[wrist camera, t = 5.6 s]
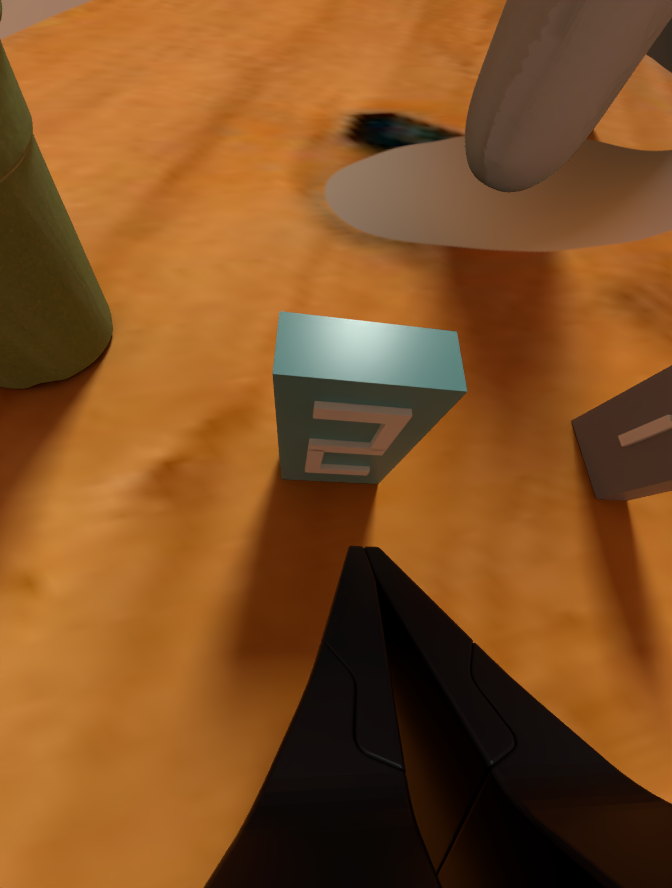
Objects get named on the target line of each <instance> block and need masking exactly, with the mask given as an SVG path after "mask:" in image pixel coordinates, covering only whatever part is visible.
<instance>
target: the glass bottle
mask: <svg viewBox="0 0 672 888" xmlns="http://www.w3.org/2000/svg"><path fill="white" fill-rule="evenodd" d="M671 17H672V0H507V1H506V4H505V6H504V9H503V12H502V15H501V17H500V20H499V22H498V25H497V28H496V31H495V33H494V36H493V38H492V41H491V44H490V46H489V49H488V52H487V54H486V57H485V60H484V63H483V65H482V68H481V71H480V74H479V77H478V80H477V82H476V85H475V88H474V92H473V95H472V98H471V102H470V106H469V110H468V115H467V121H466V129H465V148H466V156H467V161H468V164H469V167H470V169H471V171H472V173H473V174H474V176H475V177H476V178H477V179H478V180H479V181H481V182H482V183H484V184H485V185H487V186H488V187H491V188H493V189H496V190H498V191H502V192H516V191H522V190H525V189H527V188H530V187H532V186H534V185H537V184H539V183H540V182H542V181H544V180H546V179H547V178H548V177H549V176H551V175H552V174H554V173H555V172H556V171H557V170H559V168H561V167H562V166H563V165H564V164H565V163H566V162H567V161H568V160H569V159H570V158H571V157H572V156H573V155H574V153H575V152H576V151H577V150H578V149H579V147H580V146H581V145H582V144H583V142H584V141H585V140H586V139H587V137H588V136H589V135H590V133H591V132H592V131H593V129H594V128H595V127H596V125H597V124H598V122H599V121H600V120H601V118H602V117H603V115H604V114H605V112H606V111H607V110H608V108H609V107H610V105H611V104H612V102H613V101H614V99H615V98H616V97H617V95H618V94H619V92H620V91H621V89H622V88H623V86H624V85H625V83H626V82H627V80H628V79H629V77H630V76H631V75H632V73H633V72H634V70H635V69H636V67H637V66H638V64H639V63H640V62H641V60H642V59H643V57H644V56H645V54H646V53H647V51H648V50H649V48H650V47H651V45H652V44H653V43H654V41H655V40H656V39H657V37H658V36H659V34H660V33H661V31H662V30H663V29H664V27H665V26H666V24H667V23H668V22H669V20H670V19H671Z"/></svg>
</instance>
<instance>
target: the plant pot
mask: <svg viewBox="0 0 672 888" xmlns="http://www.w3.org/2000/svg"><path fill="white" fill-rule="evenodd" d="M1 16H2V3H1V0H0V21H1ZM112 331H113V326H112V318H111V313H110V309H109V306H108V304H107V302H106V299H105V297H104V295H103V293H102V290H101V288H100V286H99V284H98V281H97V279H96V277H95V275H94V272H93V270H92V268H91V266H90V263H89V261H88V259H87V256H86V254H85V252H84V250H83V247H82V245H81V243H80V240H79V238H78V236H77V234H76V231H75V229H74V227H73V224H72V222H71V220H70V217H69V215H68V213H67V211H66V208H65V206H64V204H63V202H62V200H61V197H60V195H59V193H58V191H57V188H56V186H55V184H54V181H53V179H52V177H51V175H50V172H49V170H48V168H47V165H46V163H45V161H44V158H43V156H42V154H41V152H40V149H39V147H38V144H37V142H36V140H35V137H34V135H33V126H32V117H31V114H30V112H29V109H28V107H27V104H26V102H25V99H24V97H23V95H22V92H21V90H20V87H19V85H18V82H17V80H16V78H15V75H14V73H13V70H12V68H11V66H10V63H9V61H8V58H7V56H6V53H5V51H4V48H3V46H2V43H1V40H0V387H5V388H14V389H21V388H29V387H31V386H33V385H36V384H40V383H45V382H51V381H59V380H65V379H67V378H69V377H71V376H73V375H75V374H77V373H78V372H80V371H82V370H83V369H85V368H86V367H88V366H89V365H90V364H92V363H93V362H94V361H95V360H96V359H97V358H98V357H99V356H100V355H101V354H102V352H103V351H104V349H105V348H106V347H107V345H108V343H109V341H110V339H111V336H112Z"/></svg>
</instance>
